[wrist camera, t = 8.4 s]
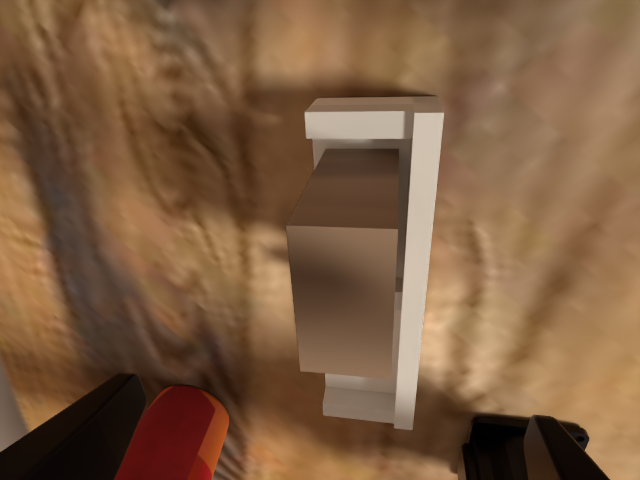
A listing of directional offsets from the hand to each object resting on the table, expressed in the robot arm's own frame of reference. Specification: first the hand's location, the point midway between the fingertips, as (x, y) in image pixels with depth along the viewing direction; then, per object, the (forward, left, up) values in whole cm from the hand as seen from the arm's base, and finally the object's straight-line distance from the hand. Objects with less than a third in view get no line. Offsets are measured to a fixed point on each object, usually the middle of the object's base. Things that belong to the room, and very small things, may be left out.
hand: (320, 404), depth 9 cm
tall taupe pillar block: (0, 0, -10) cm, 10 cm away
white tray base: (-1, +4, -12) cm, 13 cm away
